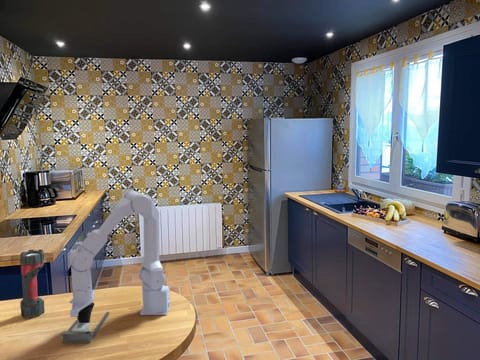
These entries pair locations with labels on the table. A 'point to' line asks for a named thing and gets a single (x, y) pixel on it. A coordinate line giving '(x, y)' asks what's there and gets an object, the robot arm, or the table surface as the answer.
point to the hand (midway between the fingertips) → (85, 326)
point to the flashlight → (31, 283)
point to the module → (81, 327)
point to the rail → (81, 333)
